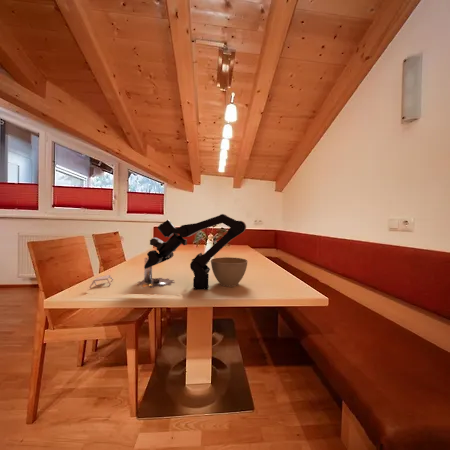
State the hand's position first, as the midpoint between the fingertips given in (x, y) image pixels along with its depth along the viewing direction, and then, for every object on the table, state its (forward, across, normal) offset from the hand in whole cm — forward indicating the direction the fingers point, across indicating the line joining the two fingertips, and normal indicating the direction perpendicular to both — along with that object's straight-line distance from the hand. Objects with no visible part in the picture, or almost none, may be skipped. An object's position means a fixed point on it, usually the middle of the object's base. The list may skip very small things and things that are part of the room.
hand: (149, 266), depth 116 cm
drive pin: (+5, 0, +5) cm, 7 cm away
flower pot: (-21, -9, +33) cm, 40 cm away
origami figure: (+18, +11, -5) cm, 21 cm away
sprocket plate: (+3, +2, +9) cm, 10 cm away
